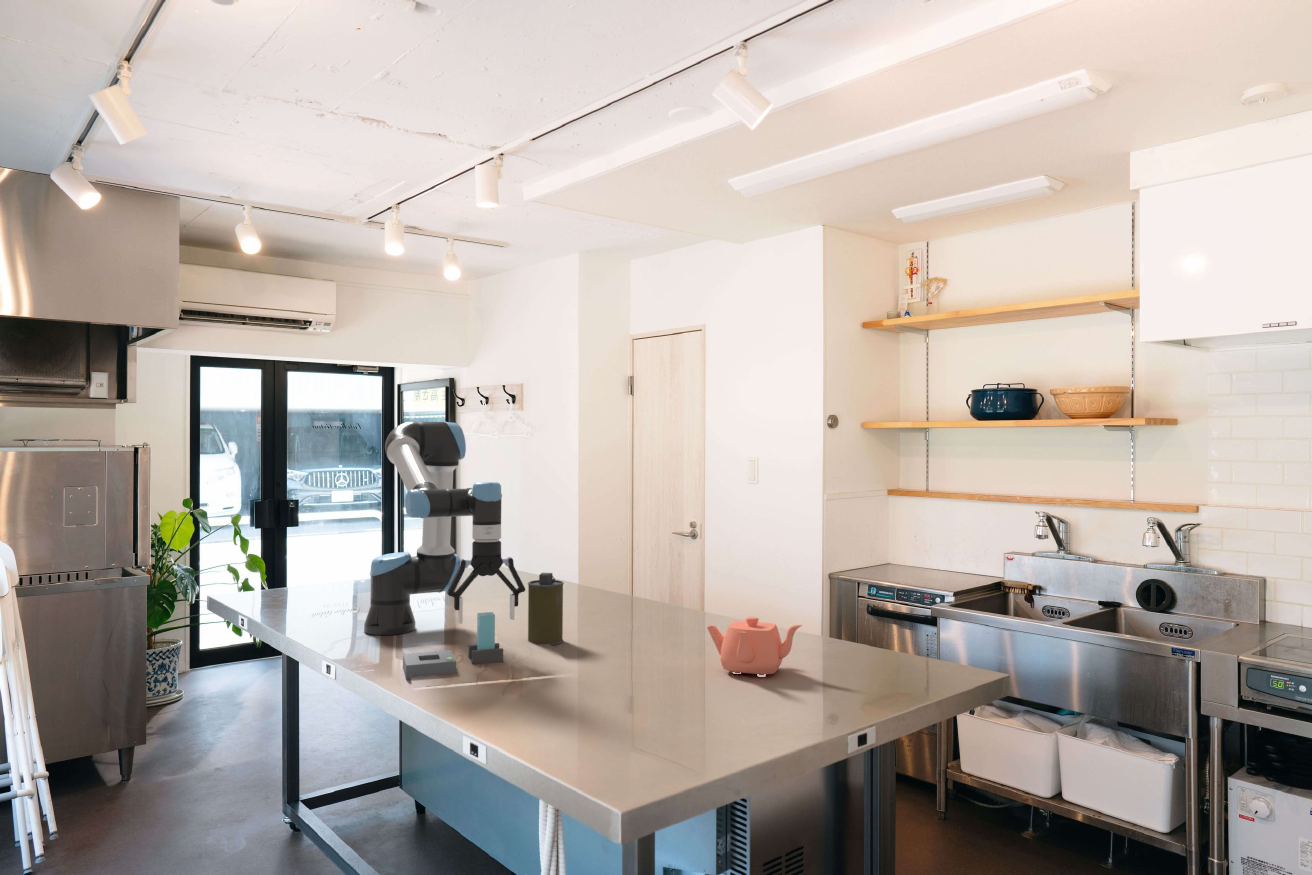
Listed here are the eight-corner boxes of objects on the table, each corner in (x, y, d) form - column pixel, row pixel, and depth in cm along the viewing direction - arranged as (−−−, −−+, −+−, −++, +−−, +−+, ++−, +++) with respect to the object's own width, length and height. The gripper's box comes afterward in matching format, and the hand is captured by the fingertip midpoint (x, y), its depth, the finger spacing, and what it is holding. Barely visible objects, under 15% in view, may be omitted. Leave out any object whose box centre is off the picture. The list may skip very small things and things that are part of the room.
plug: (476, 658, 223) (477, 612, 223) (492, 656, 224) (492, 612, 224) (479, 661, 219) (479, 615, 219) (494, 660, 220) (494, 614, 221)
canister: (556, 646, 238) (557, 576, 238) (521, 644, 240) (522, 575, 240) (568, 638, 249) (568, 571, 249) (534, 636, 251) (535, 569, 251)
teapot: (803, 676, 210) (803, 621, 210) (740, 685, 202) (741, 627, 202) (762, 659, 226) (763, 608, 226) (703, 667, 218) (703, 613, 218)
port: (402, 667, 215) (403, 651, 215) (450, 663, 219) (450, 647, 219) (406, 679, 204) (406, 662, 204) (456, 675, 208) (456, 658, 208)
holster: (468, 659, 224) (468, 645, 224) (498, 656, 226) (498, 642, 226) (472, 666, 217) (472, 651, 217) (503, 663, 220) (503, 649, 220)
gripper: (440, 543, 214) (439, 626, 214) (536, 540, 223) (535, 620, 222) (437, 540, 221) (436, 621, 221) (530, 537, 230) (530, 614, 229)
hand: (486, 620), depth 221 cm, fingers open, 13 cm apart
